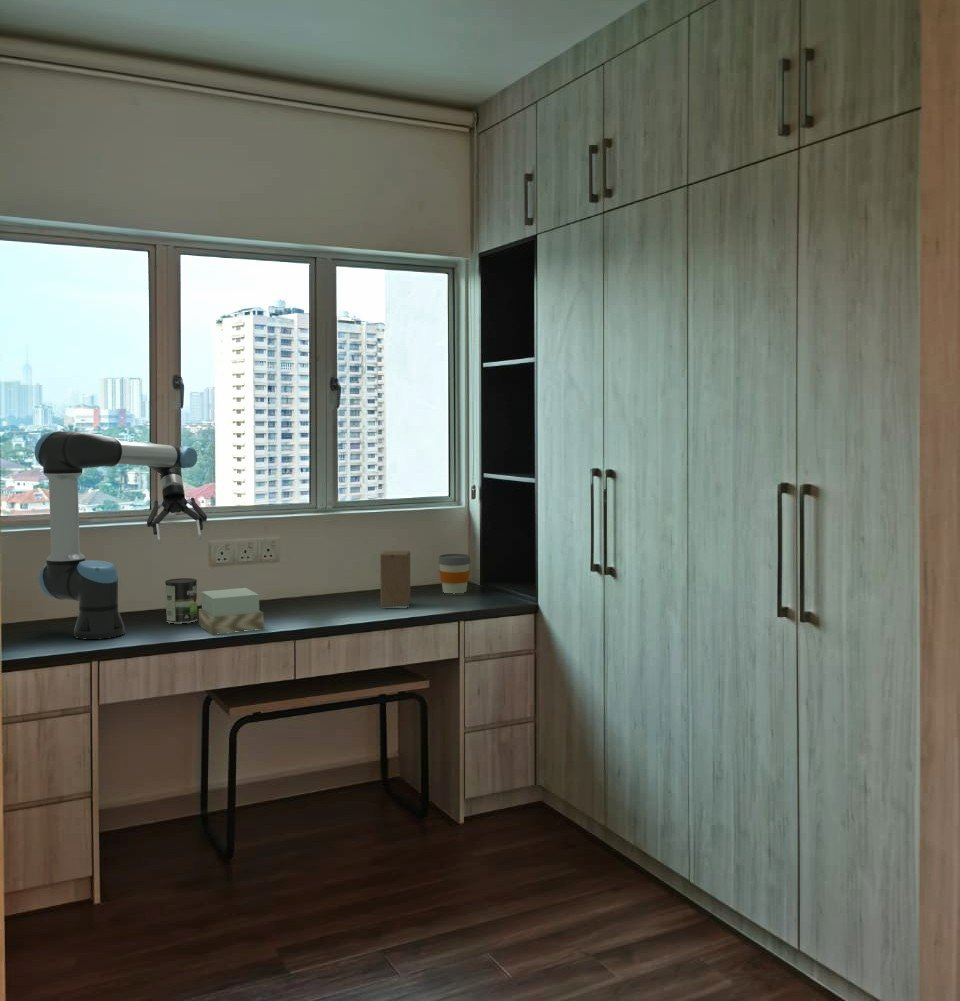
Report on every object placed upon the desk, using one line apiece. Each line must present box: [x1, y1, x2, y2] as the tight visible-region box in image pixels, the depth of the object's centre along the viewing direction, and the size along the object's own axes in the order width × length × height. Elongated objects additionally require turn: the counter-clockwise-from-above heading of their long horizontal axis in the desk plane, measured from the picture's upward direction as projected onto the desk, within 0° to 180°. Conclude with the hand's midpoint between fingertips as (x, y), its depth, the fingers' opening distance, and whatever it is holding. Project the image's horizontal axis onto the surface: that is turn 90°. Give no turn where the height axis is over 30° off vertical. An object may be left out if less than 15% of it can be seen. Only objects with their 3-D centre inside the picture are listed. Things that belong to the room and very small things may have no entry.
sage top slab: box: [201, 587, 260, 617], centre depth 334 cm, size 15×15×6 cm
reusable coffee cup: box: [438, 553, 472, 594], centre depth 397 cm, size 13×13×15 cm
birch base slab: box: [198, 608, 265, 635], centre depth 335 cm, size 17×17×6 cm
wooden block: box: [379, 550, 411, 608], centre depth 371 cm, size 10×10×20 cm
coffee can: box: [164, 577, 199, 625], centre depth 344 cm, size 10×10×14 cm
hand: (179, 539), depth 351 cm, fingers open, 13 cm apart
